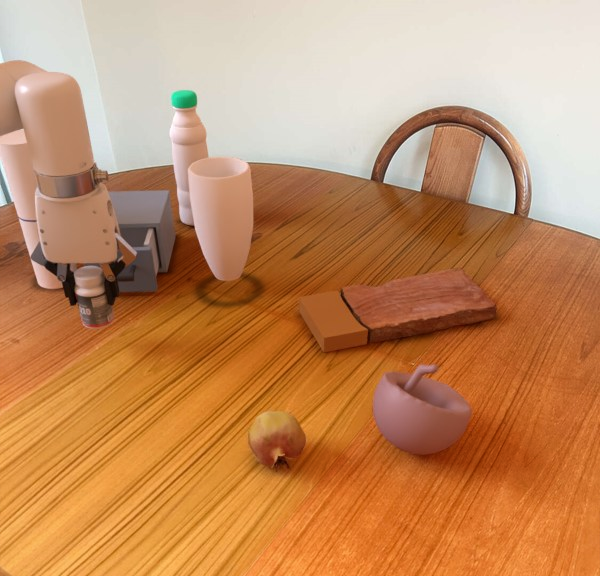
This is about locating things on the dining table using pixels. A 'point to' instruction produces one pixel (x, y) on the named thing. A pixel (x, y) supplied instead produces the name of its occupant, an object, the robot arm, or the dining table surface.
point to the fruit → (276, 439)
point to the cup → (222, 213)
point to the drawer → (139, 260)
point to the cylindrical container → (25, 198)
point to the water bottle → (186, 146)
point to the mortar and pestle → (419, 411)
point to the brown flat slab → (395, 309)
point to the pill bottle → (92, 298)
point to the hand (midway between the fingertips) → (93, 299)
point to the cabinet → (147, 217)
